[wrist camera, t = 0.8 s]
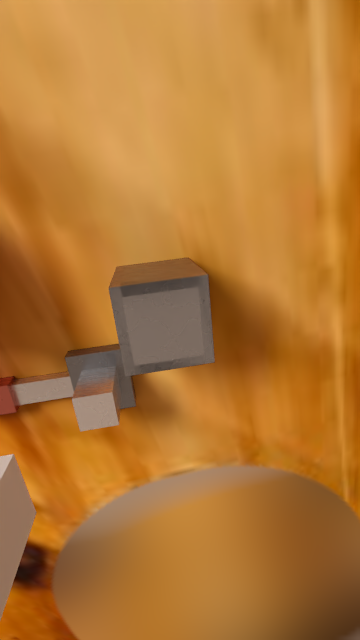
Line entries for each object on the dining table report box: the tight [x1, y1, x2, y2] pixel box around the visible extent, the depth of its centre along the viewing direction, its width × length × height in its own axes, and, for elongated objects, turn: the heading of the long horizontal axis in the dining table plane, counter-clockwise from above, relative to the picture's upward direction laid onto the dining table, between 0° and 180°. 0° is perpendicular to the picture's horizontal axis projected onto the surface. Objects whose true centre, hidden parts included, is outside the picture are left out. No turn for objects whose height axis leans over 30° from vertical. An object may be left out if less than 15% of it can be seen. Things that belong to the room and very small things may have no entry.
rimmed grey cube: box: [109, 258, 215, 376], centre depth 27 cm, size 7×7×9 cm
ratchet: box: [0, 344, 136, 431], centre depth 30 cm, size 7×18×6 cm, turn 96°
